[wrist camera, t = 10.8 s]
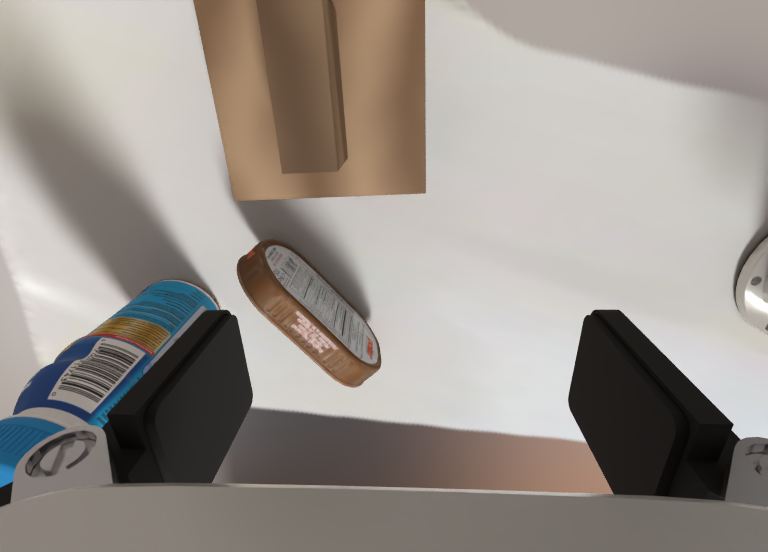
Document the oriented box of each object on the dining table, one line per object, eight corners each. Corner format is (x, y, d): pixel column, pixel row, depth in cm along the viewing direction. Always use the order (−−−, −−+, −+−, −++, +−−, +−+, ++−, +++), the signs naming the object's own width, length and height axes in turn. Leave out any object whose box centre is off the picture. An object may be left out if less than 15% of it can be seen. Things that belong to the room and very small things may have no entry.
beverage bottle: (242, 333, 40) (114, 532, 22) (175, 361, 42) (3, 567, 23) (192, 262, 37) (-6, 425, 19) (121, 295, 39) (-124, 475, 20)
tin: (253, 243, 36) (215, 283, 28) (277, 221, 35) (244, 257, 27) (364, 350, 41) (357, 409, 33) (388, 333, 40) (386, 390, 32)
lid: (423, -44, 22) (432, -89, 17) (424, 190, 28) (431, 213, 22) (194, -29, 23) (131, -68, 17) (239, 197, 28) (201, 222, 23)
